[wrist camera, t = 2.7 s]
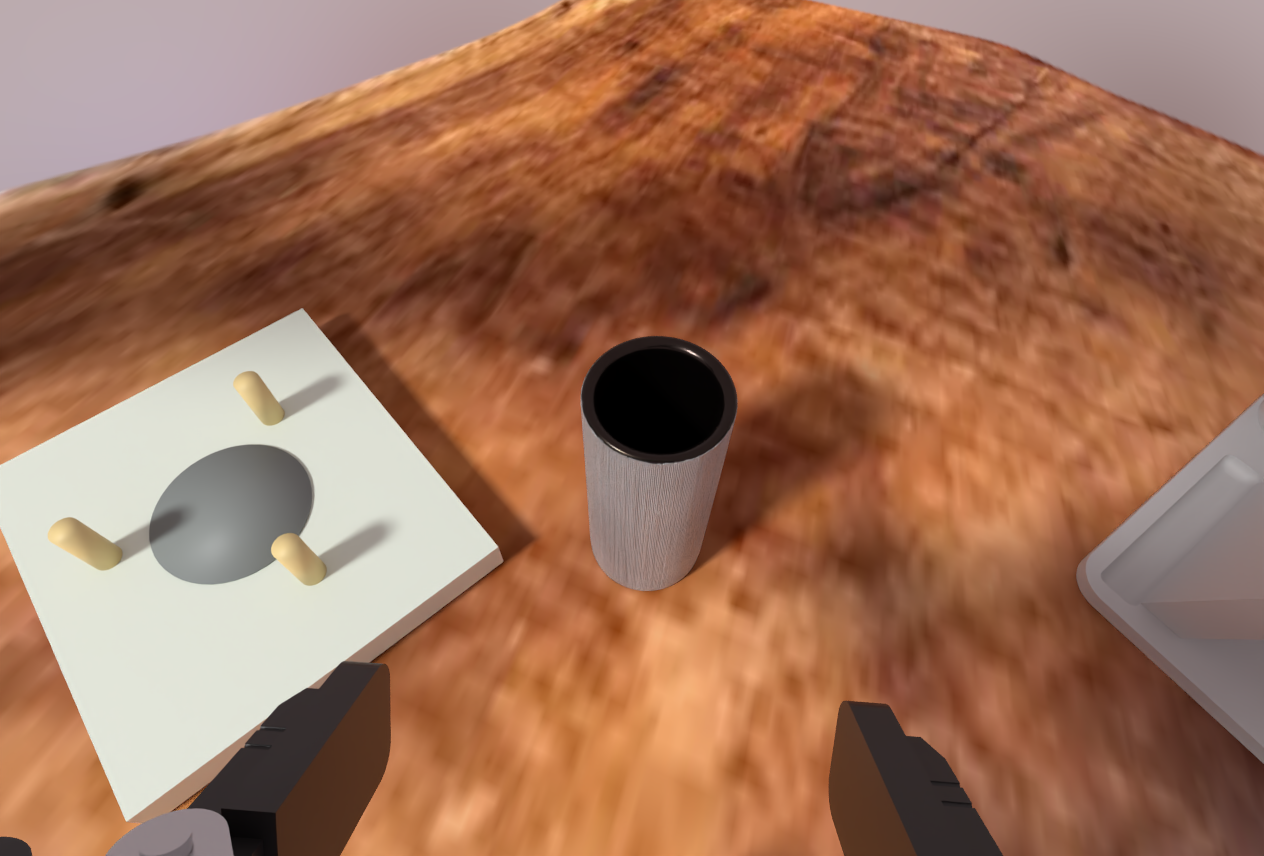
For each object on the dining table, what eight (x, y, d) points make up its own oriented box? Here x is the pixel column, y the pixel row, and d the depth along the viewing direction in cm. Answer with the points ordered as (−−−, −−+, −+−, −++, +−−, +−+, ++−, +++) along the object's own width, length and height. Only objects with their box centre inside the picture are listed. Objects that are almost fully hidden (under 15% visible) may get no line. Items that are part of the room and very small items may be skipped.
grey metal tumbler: (686, 606, 27) (719, 481, 18) (575, 574, 28) (558, 438, 19) (711, 506, 29) (752, 353, 21) (609, 478, 30) (607, 319, 21)
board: (6, 493, 29) (-74, 444, 26) (313, 328, 34) (281, 269, 31) (153, 824, 23) (73, 816, 19) (503, 561, 28) (488, 518, 25)
